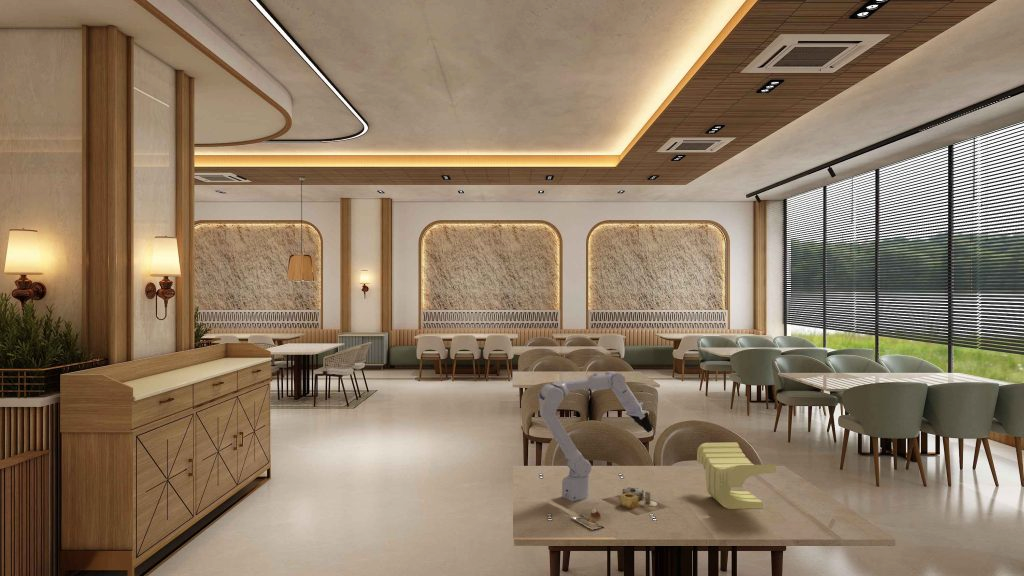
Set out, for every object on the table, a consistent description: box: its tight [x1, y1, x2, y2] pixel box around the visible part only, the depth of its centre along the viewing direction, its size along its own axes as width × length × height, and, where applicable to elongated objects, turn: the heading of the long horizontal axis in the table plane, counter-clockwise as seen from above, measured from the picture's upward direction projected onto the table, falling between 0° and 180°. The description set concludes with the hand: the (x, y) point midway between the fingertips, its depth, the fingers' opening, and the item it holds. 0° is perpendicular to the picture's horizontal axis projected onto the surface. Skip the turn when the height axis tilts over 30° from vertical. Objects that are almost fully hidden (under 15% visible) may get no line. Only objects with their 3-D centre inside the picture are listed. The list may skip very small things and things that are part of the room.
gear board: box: [601, 487, 669, 516], centre depth 213 cm, size 15×18×5 cm
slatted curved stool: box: [696, 441, 777, 510], centre depth 217 cm, size 30×16×18 cm, turn 3°
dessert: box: [569, 508, 604, 531], centre depth 198 cm, size 12×12×5 cm
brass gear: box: [619, 493, 638, 509], centre depth 210 cm, size 5×5×4 cm
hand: (646, 427), depth 227 cm, fingers open, 7 cm apart
